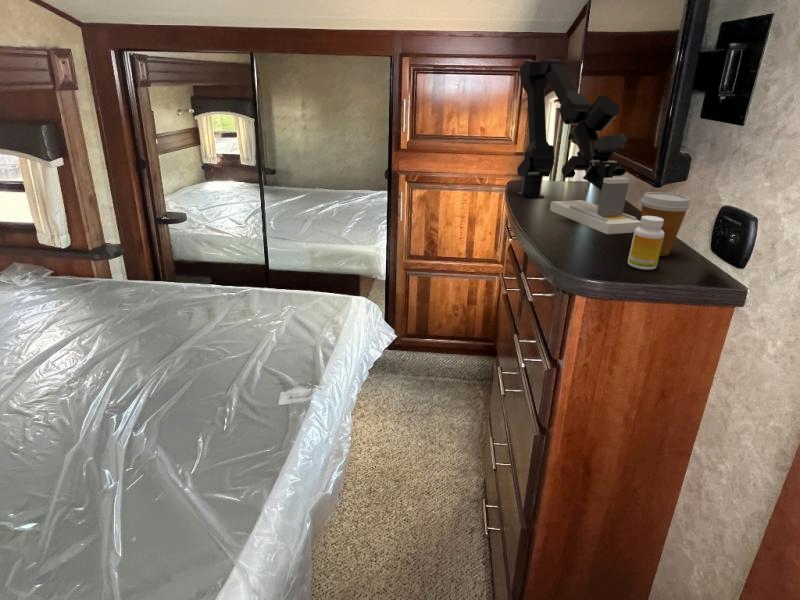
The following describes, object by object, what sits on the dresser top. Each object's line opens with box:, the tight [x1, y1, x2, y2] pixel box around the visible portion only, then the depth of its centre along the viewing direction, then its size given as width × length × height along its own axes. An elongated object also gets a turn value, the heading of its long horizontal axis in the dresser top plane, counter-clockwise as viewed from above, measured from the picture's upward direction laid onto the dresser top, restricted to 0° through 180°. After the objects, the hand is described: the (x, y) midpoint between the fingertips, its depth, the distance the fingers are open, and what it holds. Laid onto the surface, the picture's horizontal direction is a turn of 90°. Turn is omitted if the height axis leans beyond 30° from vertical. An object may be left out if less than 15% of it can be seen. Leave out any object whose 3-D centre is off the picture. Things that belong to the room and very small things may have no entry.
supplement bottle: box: [627, 216, 664, 271], centre depth 102 cm, size 5×5×10 cm
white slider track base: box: [549, 199, 641, 235], centre depth 135 cm, size 24×10×3 cm, turn 19°
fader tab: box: [597, 176, 630, 216], centre depth 128 cm, size 2×6×9 cm, turn 109°
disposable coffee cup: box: [640, 191, 692, 257], centre depth 110 cm, size 10×10×12 cm
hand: (609, 194), depth 129 cm, fingers closed, pressing on fader tab
